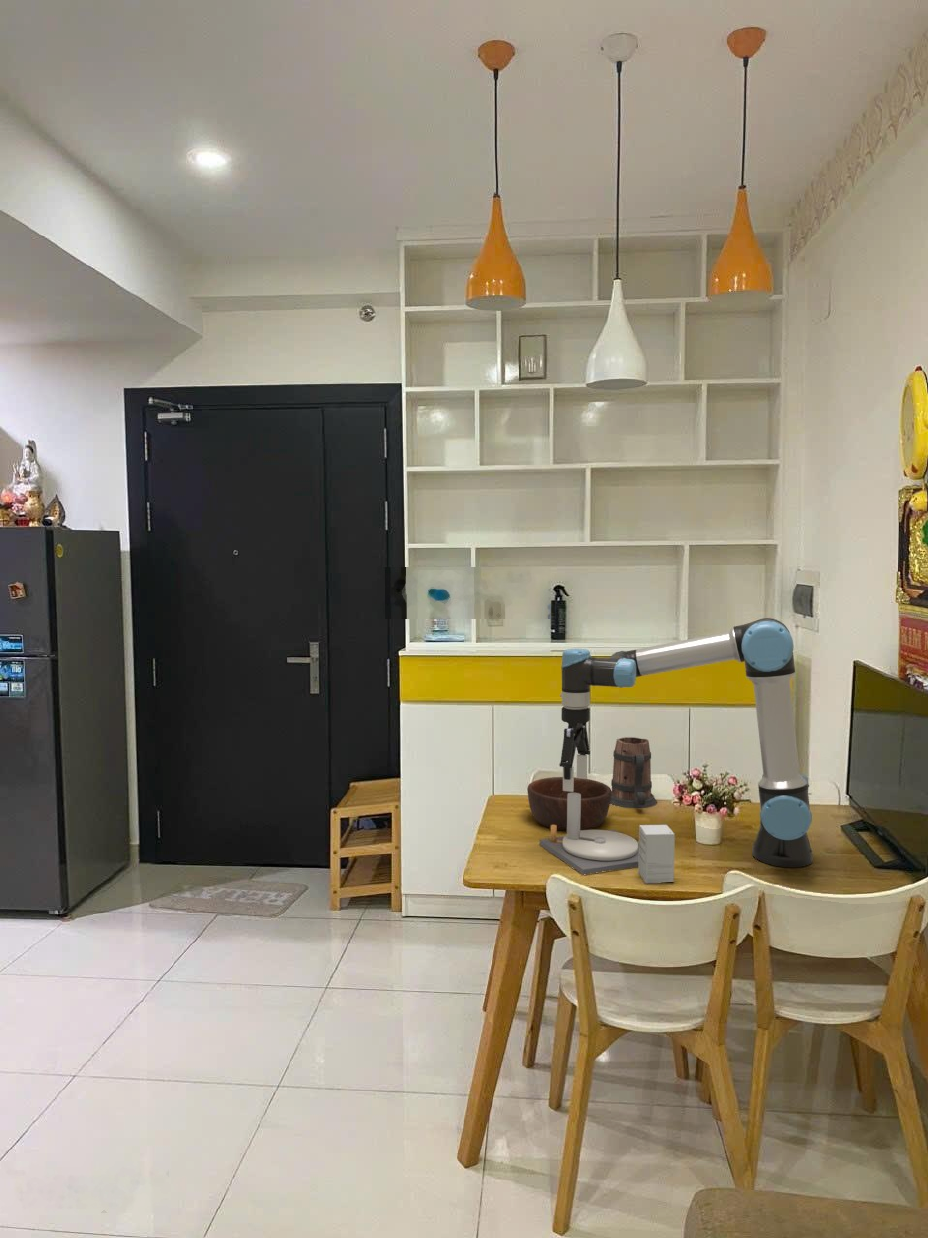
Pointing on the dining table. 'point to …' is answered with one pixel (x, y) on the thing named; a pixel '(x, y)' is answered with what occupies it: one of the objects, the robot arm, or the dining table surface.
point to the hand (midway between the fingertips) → (575, 784)
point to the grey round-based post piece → (594, 838)
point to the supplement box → (656, 853)
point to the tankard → (632, 774)
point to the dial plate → (582, 864)
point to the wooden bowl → (552, 802)
